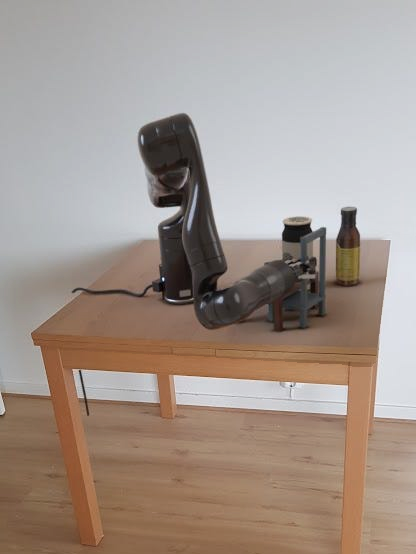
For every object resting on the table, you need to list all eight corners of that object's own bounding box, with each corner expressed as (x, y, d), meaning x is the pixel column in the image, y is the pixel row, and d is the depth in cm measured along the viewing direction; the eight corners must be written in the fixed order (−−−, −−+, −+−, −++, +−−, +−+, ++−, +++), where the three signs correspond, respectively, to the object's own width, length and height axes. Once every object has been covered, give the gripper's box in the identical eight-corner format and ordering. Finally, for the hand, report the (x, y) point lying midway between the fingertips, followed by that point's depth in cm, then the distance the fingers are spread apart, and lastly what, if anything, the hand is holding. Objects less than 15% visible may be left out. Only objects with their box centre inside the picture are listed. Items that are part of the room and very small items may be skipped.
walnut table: (234, 321, 165) (232, 286, 160) (274, 298, 177) (273, 264, 172) (279, 331, 158) (278, 294, 153) (318, 306, 170) (318, 271, 165)
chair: (268, 320, 163) (265, 233, 153) (290, 307, 170) (289, 223, 160) (304, 328, 158) (304, 238, 147) (325, 314, 164) (327, 227, 154)
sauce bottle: (343, 277, 187) (345, 203, 177) (363, 281, 184) (366, 205, 174) (330, 284, 183) (332, 209, 173) (351, 288, 179) (354, 211, 169)
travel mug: (302, 280, 187) (302, 214, 178) (318, 288, 181) (319, 220, 172) (277, 286, 185) (275, 219, 176) (292, 294, 178) (292, 225, 169)
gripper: (296, 270, 136) (338, 247, 148) (240, 261, 144) (284, 240, 155) (296, 305, 140) (337, 280, 151) (242, 295, 148) (285, 272, 159)
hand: (310, 260), depth 153 cm, fingers closed
